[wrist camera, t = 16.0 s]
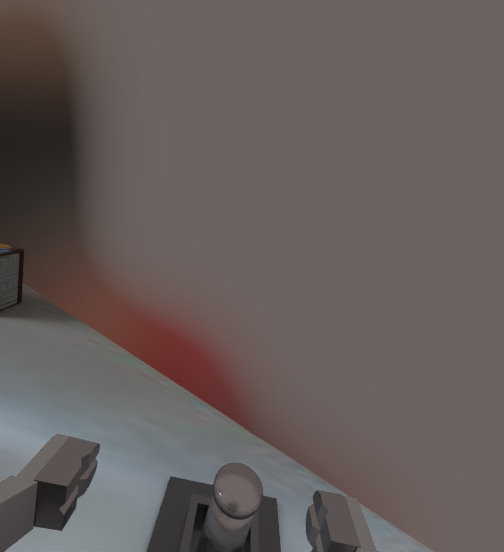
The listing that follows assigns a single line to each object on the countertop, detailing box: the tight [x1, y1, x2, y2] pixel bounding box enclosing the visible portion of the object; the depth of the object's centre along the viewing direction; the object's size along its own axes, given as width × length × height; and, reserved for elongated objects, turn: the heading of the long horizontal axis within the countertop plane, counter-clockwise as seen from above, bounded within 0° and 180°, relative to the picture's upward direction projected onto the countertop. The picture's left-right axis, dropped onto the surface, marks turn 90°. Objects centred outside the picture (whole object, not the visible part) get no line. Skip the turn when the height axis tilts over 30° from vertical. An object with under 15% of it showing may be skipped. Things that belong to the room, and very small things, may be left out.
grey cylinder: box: [196, 463, 263, 552], centre depth 30 cm, size 5×5×11 cm
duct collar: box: [147, 477, 281, 552], centre depth 31 cm, size 16×16×3 cm
